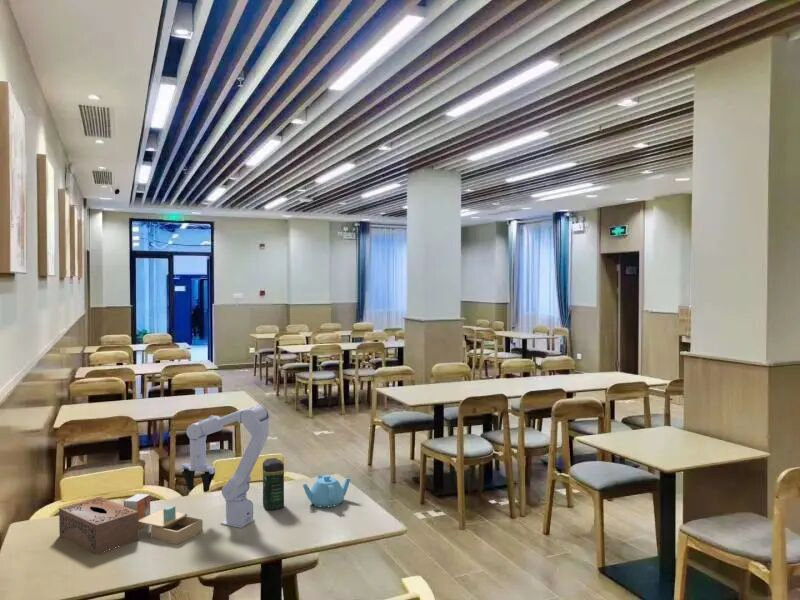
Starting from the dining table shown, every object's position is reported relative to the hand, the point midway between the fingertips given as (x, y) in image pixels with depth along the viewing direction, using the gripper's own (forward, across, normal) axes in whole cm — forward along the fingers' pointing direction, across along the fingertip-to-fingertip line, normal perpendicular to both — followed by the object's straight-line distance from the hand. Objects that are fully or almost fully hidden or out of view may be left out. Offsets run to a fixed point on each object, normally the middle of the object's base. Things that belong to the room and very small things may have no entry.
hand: (198, 490), depth 225 cm
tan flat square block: (+6, -3, -15) cm, 16 cm away
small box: (+11, -15, -15) cm, 24 cm away
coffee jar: (+11, +19, +21) cm, 30 cm away
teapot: (+11, +36, +33) cm, 50 cm away
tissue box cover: (+11, -19, -28) cm, 36 cm away
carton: (+10, +4, -15) cm, 19 cm away
